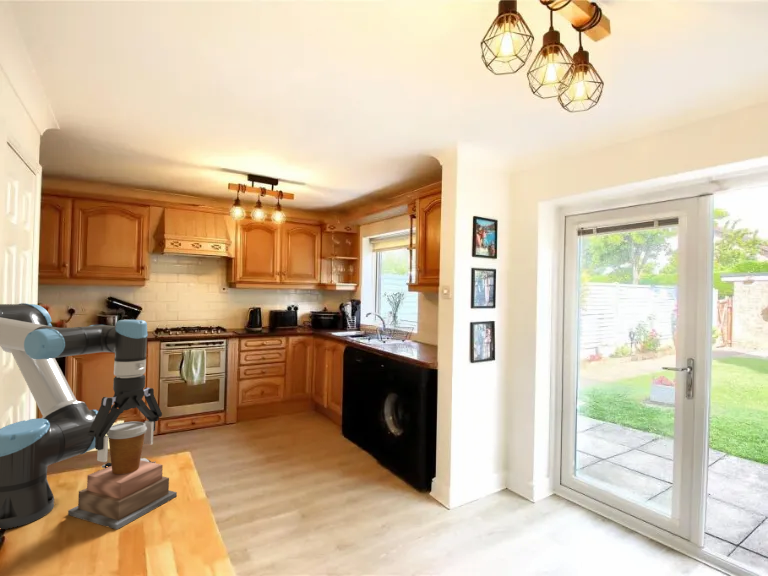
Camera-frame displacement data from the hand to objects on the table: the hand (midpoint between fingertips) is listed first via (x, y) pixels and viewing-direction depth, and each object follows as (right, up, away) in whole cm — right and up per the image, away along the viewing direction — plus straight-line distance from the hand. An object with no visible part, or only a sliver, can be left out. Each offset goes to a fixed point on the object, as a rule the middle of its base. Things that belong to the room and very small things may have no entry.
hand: (126, 452), depth 111 cm
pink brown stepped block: (0, -15, 0) cm, 15 cm away
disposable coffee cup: (0, -5, 0) cm, 5 cm away
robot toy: (-12, -15, +19) cm, 28 cm away
